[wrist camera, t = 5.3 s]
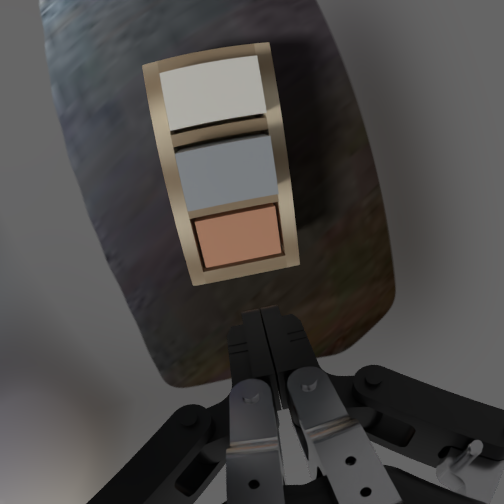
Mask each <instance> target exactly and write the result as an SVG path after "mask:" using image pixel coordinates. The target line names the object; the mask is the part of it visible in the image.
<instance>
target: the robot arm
mask: <svg viewBox="0 0 504 504" xmlns="http://www.w3.org/2000/svg"><path fill="white" fill-rule="evenodd" d="M260 312H261V316H260ZM260 312H259V309H255V310H250V311H245V312H242V319H243V325H238V326H233V327H231V329H230V331H229V333H228V335H227V340H228V350H229V359H230V368H231V377H232V389H231V392H230V394H229V395H228V396H227V398H225V399H224V400H223V401H222V402H220V403H218V404H216V405H214V406H211V407H209V408H207V409H206V408H204V407H203V406H200V405H195V404H192V405H186V406H183V407H181V408H179V409H178V410H176V411H175V412H174V414H173V415H172V416H171V417H170V418H169V419H168V420H167V421H166V422H165V423H164V424H163V426H162V427H161V428H160V429H159V430H158V431H157V432H156V433H155V434H154V435H153V436H152V437H151V438H150V440H149V441H148V442H147V443H146V444H145V445H144V446H143V447H142V448H141V449H140V450H139V451H138V452H137V453H136V454H135V456H134V457H132V459H131V460H130V461H129V462H128V463H127V464H126V465H125V466H124V467H123V468H122V469H121V470H120V471H119V472H118V473H117V474H116V475H115V476H114V477H113V478H112V479H111V480H110V481H109V482H108V483H107V484H106V485H105V486H104V487H103V488H102V489H101V490H100V491H99V492H98V493H97V494H96V495H95V496H94V497H93V498H92V499H91V500H90V501H89V502H88V503H87V504H193V503H194V502H195V501H196V500H197V499H198V497H199V496H200V495H201V494H202V493H203V491H204V490H205V489H206V488H207V486H208V485H209V484H210V482H211V481H212V480H213V479H214V477H215V476H216V475H217V473H218V472H219V471H220V470H221V468H222V467H223V466H224V465H225V463H226V491H227V501H226V502H224V503H222V504H490V502H491V500H492V498H493V495H494V493H495V491H496V488H497V486H498V483H499V480H500V478H501V475H502V472H503V469H504V410H502V409H499V408H496V407H493V406H489V405H487V404H483V403H481V402H477V401H474V400H471V399H469V398H466V397H463V396H460V395H457V394H454V393H451V392H448V391H446V390H443V389H440V388H437V387H434V386H432V385H429V384H426V383H424V382H421V381H418V380H416V379H413V378H410V377H408V376H405V375H403V374H400V373H397V372H395V371H392V370H390V369H387V368H385V367H382V366H379V365H369V366H365V367H363V368H361V369H360V370H358V371H357V373H356V374H355V376H335V375H331V374H328V373H326V372H325V371H323V370H322V369H321V368H320V366H319V364H318V362H317V359H316V357H315V354H314V352H313V350H312V347H311V345H310V342H309V340H308V338H307V335H306V333H305V331H304V328H303V326H302V323H301V321H300V320H299V319H298V318H297V317H295V316H294V315H293V314H289V315H285V316H281V314H280V311H279V308H278V306H277V305H274V306H269V307H264V308H260ZM261 318H262V320H261ZM262 323H263V324H262ZM278 392H279V393H278ZM279 396H280V399H281V403H282V407H283V409H287V408H289V410H290V415H291V419H292V425H293V428H294V431H295V434H296V436H297V439H298V441H299V444H300V447H301V449H302V452H303V454H304V457H305V460H306V462H307V466H308V470H309V474H310V477H311V480H312V481H311V482H309V483H307V484H304V485H287V483H286V477H285V471H284V464H283V456H282V449H281V442H280V435H279V419H278V414H277V411H278V410H281V405H280V399H279ZM370 441H372V442H375V443H377V444H379V445H381V446H383V447H386V448H388V449H390V450H392V451H395V452H397V453H399V454H402V455H404V456H406V457H409V458H411V459H414V460H416V461H419V462H422V463H424V464H427V465H429V466H432V467H434V468H436V476H437V478H438V480H439V482H440V483H442V484H443V485H445V486H447V487H448V488H449V489H450V490H451V491H450V490H448V489H445V488H443V487H440V486H438V485H435V484H433V483H430V482H428V481H425V480H423V479H421V478H418V477H416V476H414V475H412V474H410V473H408V472H405V471H403V470H401V469H399V468H396V467H392V466H387V465H383V464H382V462H381V460H380V459H379V457H378V455H377V453H376V451H375V450H374V447H373V446H372V444H371V442H370Z"/></svg>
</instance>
